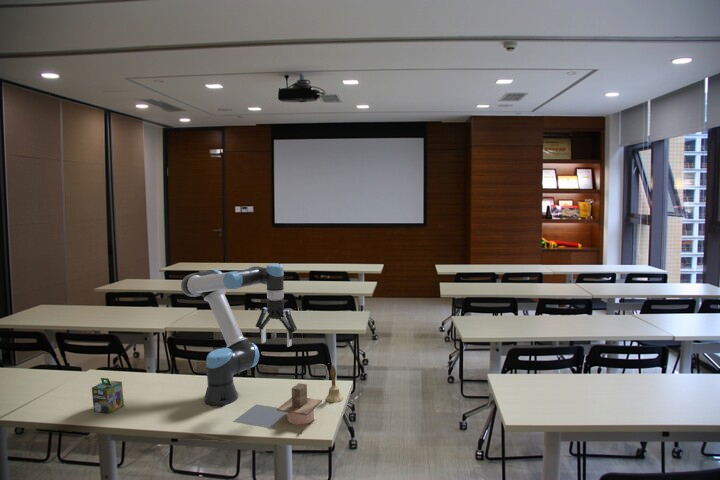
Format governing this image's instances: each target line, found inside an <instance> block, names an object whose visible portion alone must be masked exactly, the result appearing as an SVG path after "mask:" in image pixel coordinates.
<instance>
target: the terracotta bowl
mask: <svg viewBox="0 0 720 480" xmlns="http://www.w3.org/2000/svg"><path fill="white" fill-rule="evenodd" d="M314 410H315V409H314ZM314 410H313V411H311V412H310V413H309V414H308V415H307V416H306V415H300V414H294V413H288V412H287V414H286V418H287V422H288V423H290V424H293V425H298V426H299V425H305V424H310V423H312V422H313V421H314V419H315V416H314V415H315V413H314V412H315V411H314Z"/></svg>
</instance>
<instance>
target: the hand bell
mask: <svg viewBox="0 0 720 480" xmlns="http://www.w3.org/2000/svg"><path fill="white" fill-rule="evenodd" d="M336 375H337V370H336V367H335V365H331V366H330V378H331V386H329V389H328V394H327V396H325V399H324V400H325V401H326V402H328V403H333V404H334V403H339V402H342V401H343V400H344V397H343V396H342V395H341V392H340V388H339V386H337V385H336Z"/></svg>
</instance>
